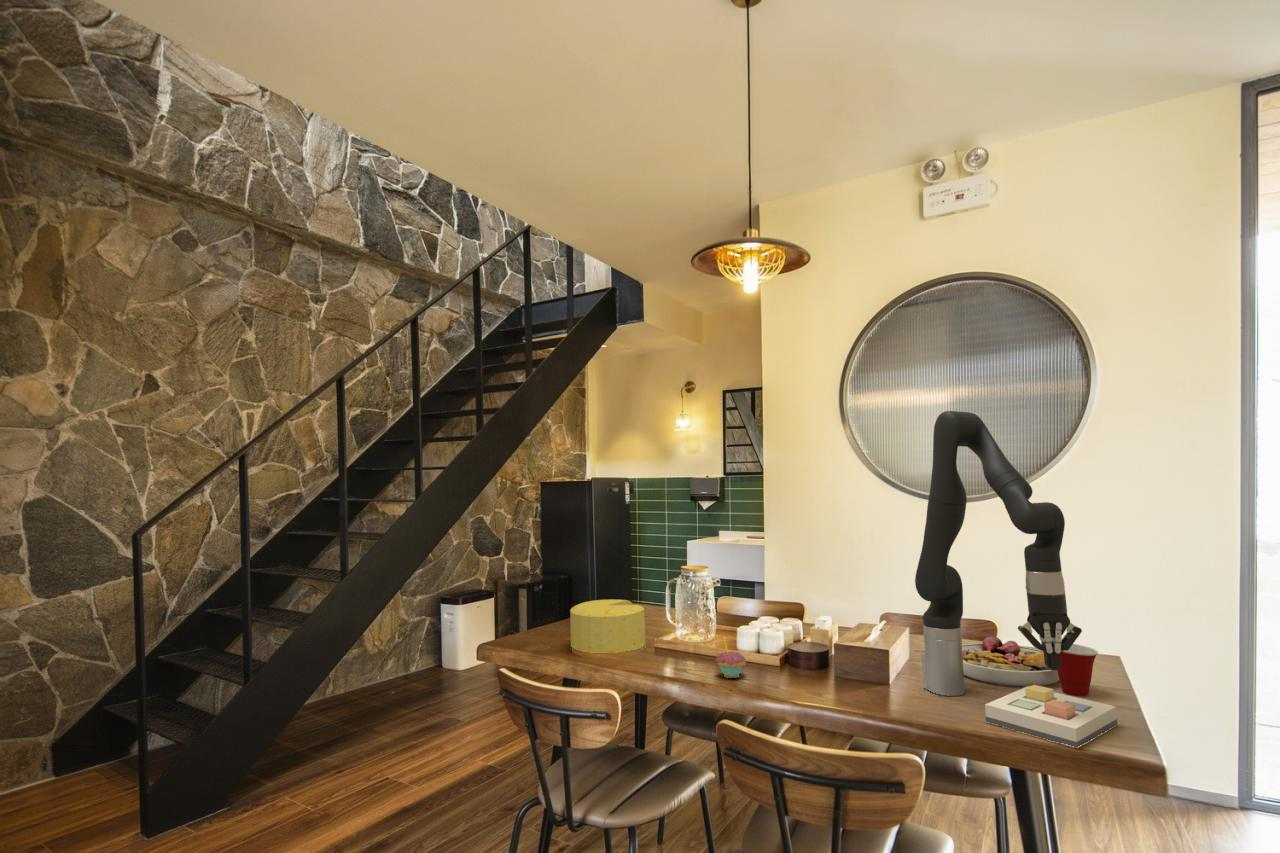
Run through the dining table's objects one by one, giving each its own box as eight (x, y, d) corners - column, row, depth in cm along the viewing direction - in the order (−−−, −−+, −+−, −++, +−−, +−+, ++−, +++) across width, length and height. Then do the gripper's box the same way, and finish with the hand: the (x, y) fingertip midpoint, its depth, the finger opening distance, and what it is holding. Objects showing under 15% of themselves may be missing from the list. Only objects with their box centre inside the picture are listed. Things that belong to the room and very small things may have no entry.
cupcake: (714, 679, 190) (712, 637, 191) (720, 671, 198) (718, 631, 199) (743, 682, 187) (741, 639, 188) (748, 673, 195) (747, 632, 196)
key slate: (1060, 716, 150) (1060, 705, 150) (1069, 711, 153) (1068, 701, 153) (1082, 721, 147) (1081, 710, 147) (1090, 717, 149) (1089, 706, 149)
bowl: (1087, 692, 172) (1085, 662, 172) (964, 688, 178) (962, 658, 178) (1042, 661, 201) (1040, 635, 202) (937, 658, 207) (936, 632, 208)
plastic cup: (1107, 702, 164) (1103, 653, 165) (1057, 697, 168) (1053, 650, 169) (1095, 688, 174) (1091, 642, 175) (1048, 685, 178) (1045, 640, 179)
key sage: (1011, 714, 152) (1010, 703, 152) (1020, 710, 155) (1019, 699, 155) (1030, 720, 149) (1030, 709, 149) (1040, 715, 151) (1039, 704, 151)
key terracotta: (1045, 714, 146) (1044, 703, 146) (1054, 710, 149) (1053, 699, 149) (1066, 720, 143) (1065, 709, 143) (1075, 715, 145) (1074, 704, 145)
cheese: (656, 642, 235) (655, 600, 236) (627, 662, 211) (626, 614, 212) (591, 637, 245) (590, 596, 246) (556, 655, 221) (556, 610, 222)
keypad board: (986, 722, 152) (984, 704, 153) (1029, 703, 164) (1028, 686, 165) (1077, 749, 137) (1075, 728, 137) (1117, 725, 149) (1115, 706, 149)
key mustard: (1025, 698, 157) (1025, 688, 157) (1034, 694, 159) (1033, 684, 159) (1045, 703, 153) (1044, 693, 153) (1054, 699, 156) (1053, 689, 156)
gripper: (1020, 593, 146) (1028, 673, 144) (1085, 593, 144) (1094, 674, 142) (1007, 588, 153) (1015, 664, 152) (1069, 588, 151) (1077, 665, 149)
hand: (1053, 669), depth 147 cm, fingers closed
